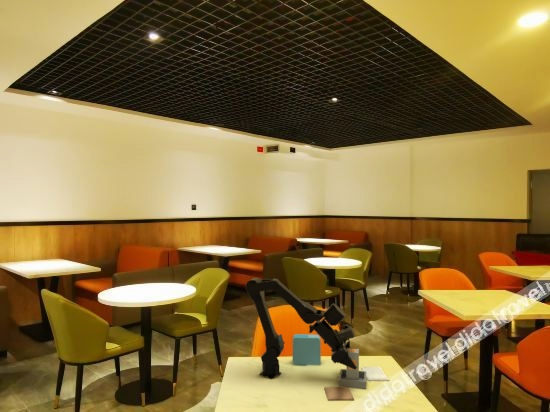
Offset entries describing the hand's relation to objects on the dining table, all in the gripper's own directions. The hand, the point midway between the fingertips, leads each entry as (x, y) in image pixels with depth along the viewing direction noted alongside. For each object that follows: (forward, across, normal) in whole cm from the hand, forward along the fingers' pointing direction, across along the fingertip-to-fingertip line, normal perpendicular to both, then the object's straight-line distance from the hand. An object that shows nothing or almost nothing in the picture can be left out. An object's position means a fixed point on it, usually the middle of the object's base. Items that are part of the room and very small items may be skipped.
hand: (356, 364), depth 149 cm
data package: (-10, +15, +21) cm, 27 cm away
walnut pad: (+1, -12, +9) cm, 15 cm away
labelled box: (+4, 0, +6) cm, 7 cm away
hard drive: (+10, +10, +1) cm, 14 cm away
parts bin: (+4, 0, +6) cm, 7 cm away
